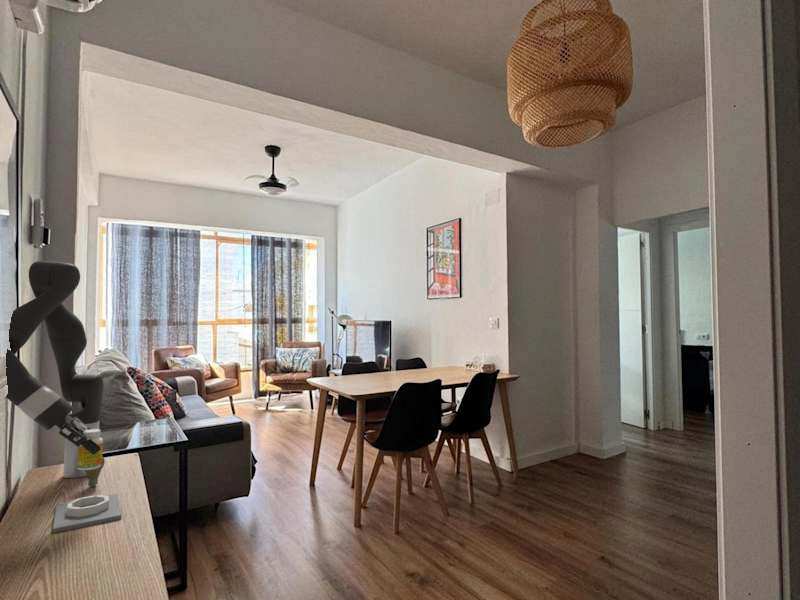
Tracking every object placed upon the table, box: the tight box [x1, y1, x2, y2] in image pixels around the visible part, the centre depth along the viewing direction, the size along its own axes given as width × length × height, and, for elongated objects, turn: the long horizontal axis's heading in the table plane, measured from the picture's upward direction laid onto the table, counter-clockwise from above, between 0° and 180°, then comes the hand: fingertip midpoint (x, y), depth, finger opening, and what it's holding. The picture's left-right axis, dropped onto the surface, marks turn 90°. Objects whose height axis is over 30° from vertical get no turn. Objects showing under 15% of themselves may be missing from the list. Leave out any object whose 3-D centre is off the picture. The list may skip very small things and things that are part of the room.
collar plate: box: [52, 493, 122, 534], centre depth 116 cm, size 18×14×3 cm
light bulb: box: [84, 455, 106, 488], centre depth 136 cm, size 6×6×10 cm
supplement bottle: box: [77, 428, 104, 470], centre depth 117 cm, size 5×5×10 cm
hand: (98, 448), depth 118 cm, fingers closed on supplement bottle, 5 cm apart
